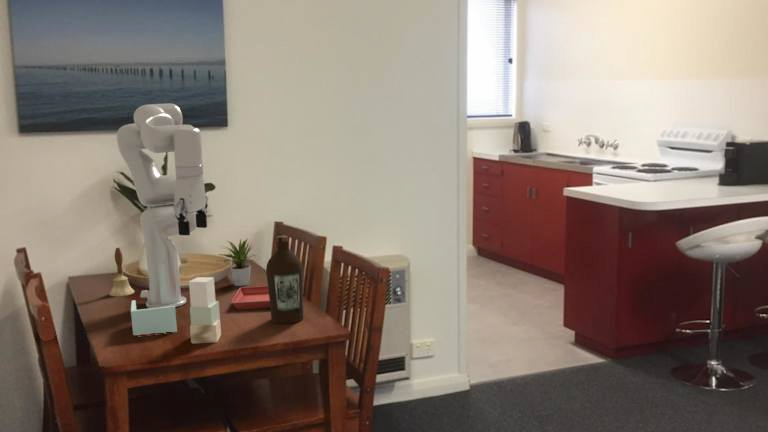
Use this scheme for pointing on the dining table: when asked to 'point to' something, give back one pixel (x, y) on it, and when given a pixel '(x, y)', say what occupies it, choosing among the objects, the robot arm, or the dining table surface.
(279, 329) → the dining table surface
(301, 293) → the olive oil
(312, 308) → the dining table surface
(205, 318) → the sage block
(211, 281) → the cream block
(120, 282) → the hand bell
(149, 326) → the l-shaped corner panel
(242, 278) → the house plant
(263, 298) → the plant saucer
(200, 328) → the oak base block
